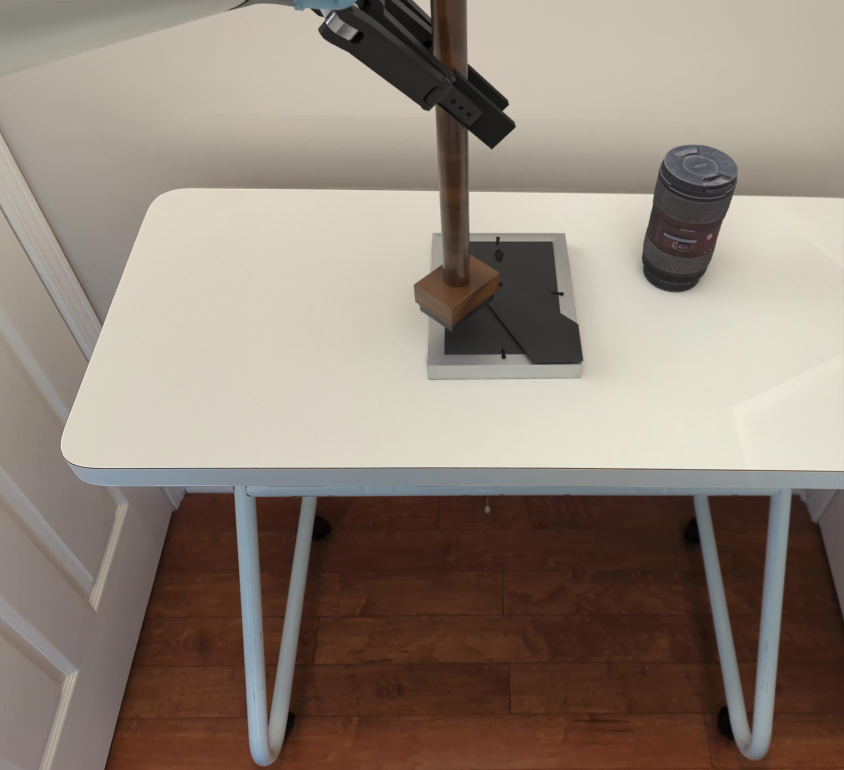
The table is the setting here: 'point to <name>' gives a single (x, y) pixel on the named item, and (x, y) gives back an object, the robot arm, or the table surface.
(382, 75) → the robot arm
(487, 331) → the picture frame
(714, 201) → the camera lens
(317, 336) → the table surface
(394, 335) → the table surface
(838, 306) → the table surface
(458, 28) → the brown piece
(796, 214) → the table surface
